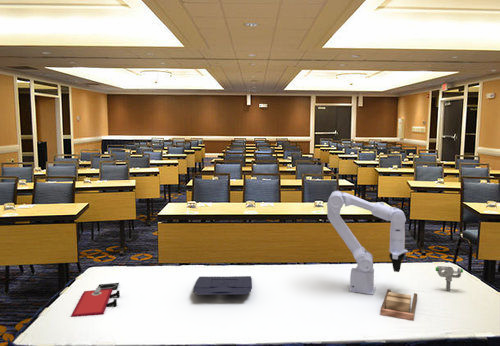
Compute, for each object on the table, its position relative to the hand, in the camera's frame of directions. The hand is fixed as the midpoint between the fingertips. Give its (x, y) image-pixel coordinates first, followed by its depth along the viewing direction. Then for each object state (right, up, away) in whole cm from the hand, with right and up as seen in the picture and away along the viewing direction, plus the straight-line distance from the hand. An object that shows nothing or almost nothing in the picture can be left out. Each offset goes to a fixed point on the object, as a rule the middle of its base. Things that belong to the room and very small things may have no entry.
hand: (396, 271), depth 173 cm
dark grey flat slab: (-72, -10, +6) cm, 73 cm away
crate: (-5, -11, -15) cm, 20 cm away
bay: (-3, -11, -11) cm, 16 cm away
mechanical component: (+23, -9, +4) cm, 25 cm away
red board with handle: (-121, -11, -4) cm, 121 cm away
